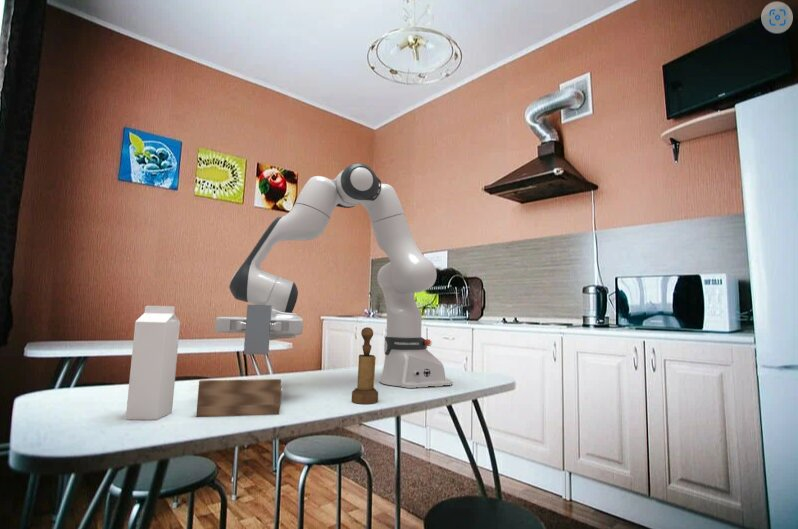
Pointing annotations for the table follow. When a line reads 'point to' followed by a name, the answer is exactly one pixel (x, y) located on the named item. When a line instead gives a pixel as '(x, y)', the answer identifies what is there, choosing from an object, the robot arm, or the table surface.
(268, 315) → the grey block
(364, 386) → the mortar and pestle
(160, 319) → the milk
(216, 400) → the brown wooden block
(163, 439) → the table surface
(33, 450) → the table surface
